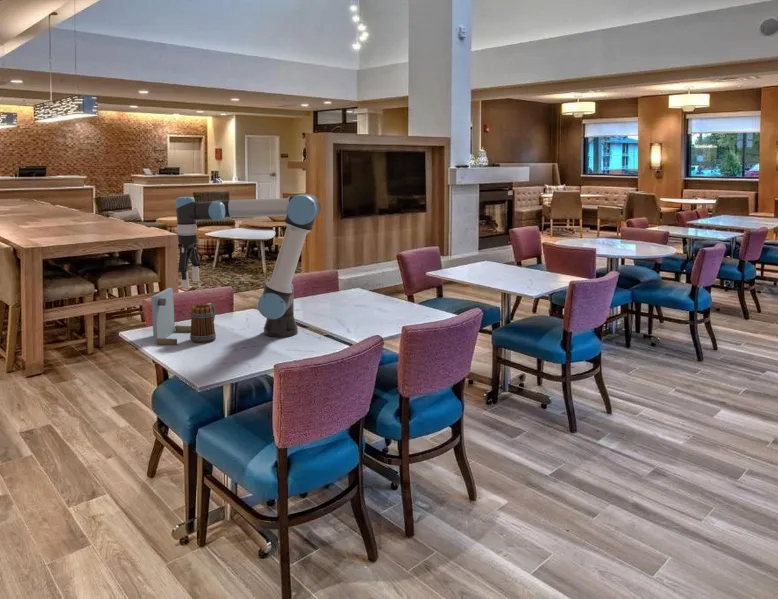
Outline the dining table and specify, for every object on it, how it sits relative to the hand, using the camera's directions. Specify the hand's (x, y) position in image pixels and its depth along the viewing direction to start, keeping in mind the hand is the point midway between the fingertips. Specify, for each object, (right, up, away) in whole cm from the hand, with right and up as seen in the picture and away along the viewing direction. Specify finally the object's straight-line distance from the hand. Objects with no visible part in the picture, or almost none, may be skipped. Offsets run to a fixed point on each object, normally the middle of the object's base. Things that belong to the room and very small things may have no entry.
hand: (190, 284), depth 266 cm
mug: (+5, -24, +5) cm, 25 cm away
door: (-12, -23, +5) cm, 26 cm away
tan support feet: (-8, -23, +5) cm, 25 cm away
